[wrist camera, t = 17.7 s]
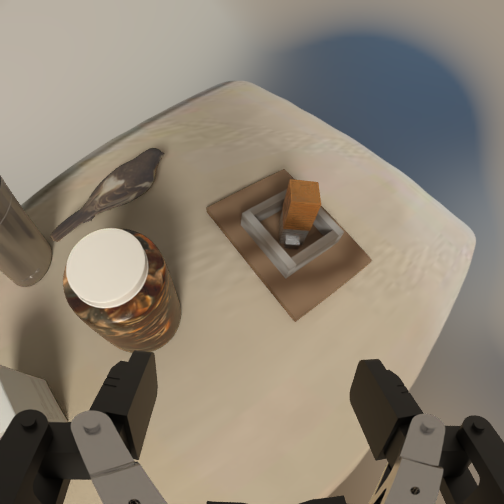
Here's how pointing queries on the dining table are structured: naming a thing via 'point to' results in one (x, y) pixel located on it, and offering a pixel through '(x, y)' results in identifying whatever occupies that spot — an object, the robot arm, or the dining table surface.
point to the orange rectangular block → (298, 212)
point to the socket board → (283, 259)
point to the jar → (122, 289)
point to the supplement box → (25, 397)
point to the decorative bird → (115, 190)
